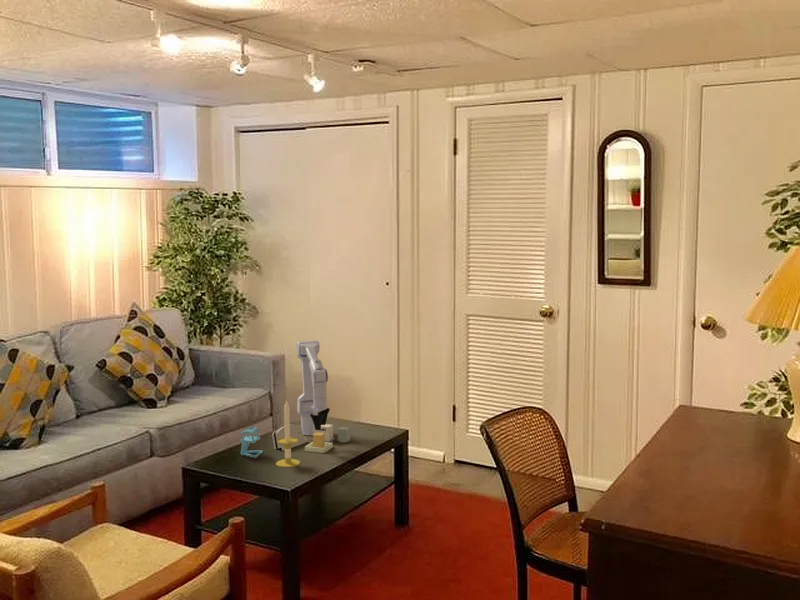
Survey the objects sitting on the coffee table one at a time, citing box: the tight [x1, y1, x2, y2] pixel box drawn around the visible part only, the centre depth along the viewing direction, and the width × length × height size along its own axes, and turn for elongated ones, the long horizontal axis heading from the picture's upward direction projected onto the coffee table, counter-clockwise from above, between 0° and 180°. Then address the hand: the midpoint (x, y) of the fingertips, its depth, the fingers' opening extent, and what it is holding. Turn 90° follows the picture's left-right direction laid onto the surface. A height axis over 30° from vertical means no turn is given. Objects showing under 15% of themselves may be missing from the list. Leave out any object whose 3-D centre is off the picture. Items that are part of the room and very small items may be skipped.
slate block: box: [337, 426, 351, 443], centre depth 357 cm, size 4×4×6 cm
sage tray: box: [304, 442, 334, 454], centre depth 345 cm, size 9×9×2 cm
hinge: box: [271, 423, 309, 452], centre depth 352 cm, size 17×5×10 cm, turn 145°
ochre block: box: [312, 432, 325, 448], centre depth 345 cm, size 4×4×6 cm
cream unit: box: [310, 423, 336, 443], centre depth 358 cm, size 6×9×7 cm, turn 69°
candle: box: [275, 400, 301, 468], centre depth 325 cm, size 10×10×27 cm
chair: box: [239, 426, 264, 459], centre depth 338 cm, size 8×8×12 cm
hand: (320, 427), depth 346 cm, fingers open, 7 cm apart
